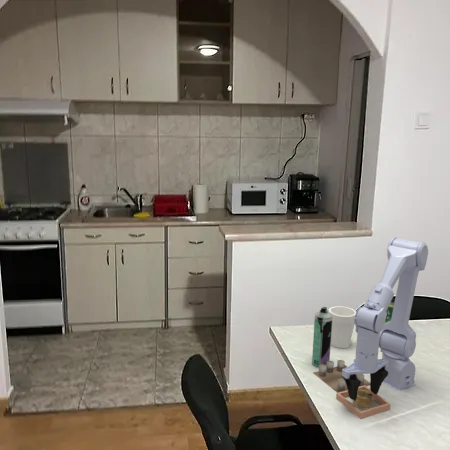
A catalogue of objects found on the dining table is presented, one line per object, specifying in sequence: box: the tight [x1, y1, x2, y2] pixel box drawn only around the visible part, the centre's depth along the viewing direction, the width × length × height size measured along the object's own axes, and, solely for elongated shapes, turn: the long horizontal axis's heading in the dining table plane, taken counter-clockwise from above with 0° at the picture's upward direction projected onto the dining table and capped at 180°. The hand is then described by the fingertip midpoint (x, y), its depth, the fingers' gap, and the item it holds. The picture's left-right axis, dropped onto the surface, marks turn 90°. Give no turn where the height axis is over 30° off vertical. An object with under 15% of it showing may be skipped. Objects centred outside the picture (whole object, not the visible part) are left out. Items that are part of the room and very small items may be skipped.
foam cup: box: [327, 305, 357, 349], centre depth 162 cm, size 10×9×13 cm
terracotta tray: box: [335, 385, 391, 419], centre depth 127 cm, size 10×10×2 cm
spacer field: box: [312, 359, 370, 393], centre depth 140 cm, size 13×12×4 cm
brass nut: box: [352, 389, 373, 410], centre depth 127 cm, size 4×5×3 cm
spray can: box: [311, 306, 332, 369], centre depth 147 cm, size 6×6×20 cm
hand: (363, 395), depth 127 cm, fingers open, 7 cm apart
